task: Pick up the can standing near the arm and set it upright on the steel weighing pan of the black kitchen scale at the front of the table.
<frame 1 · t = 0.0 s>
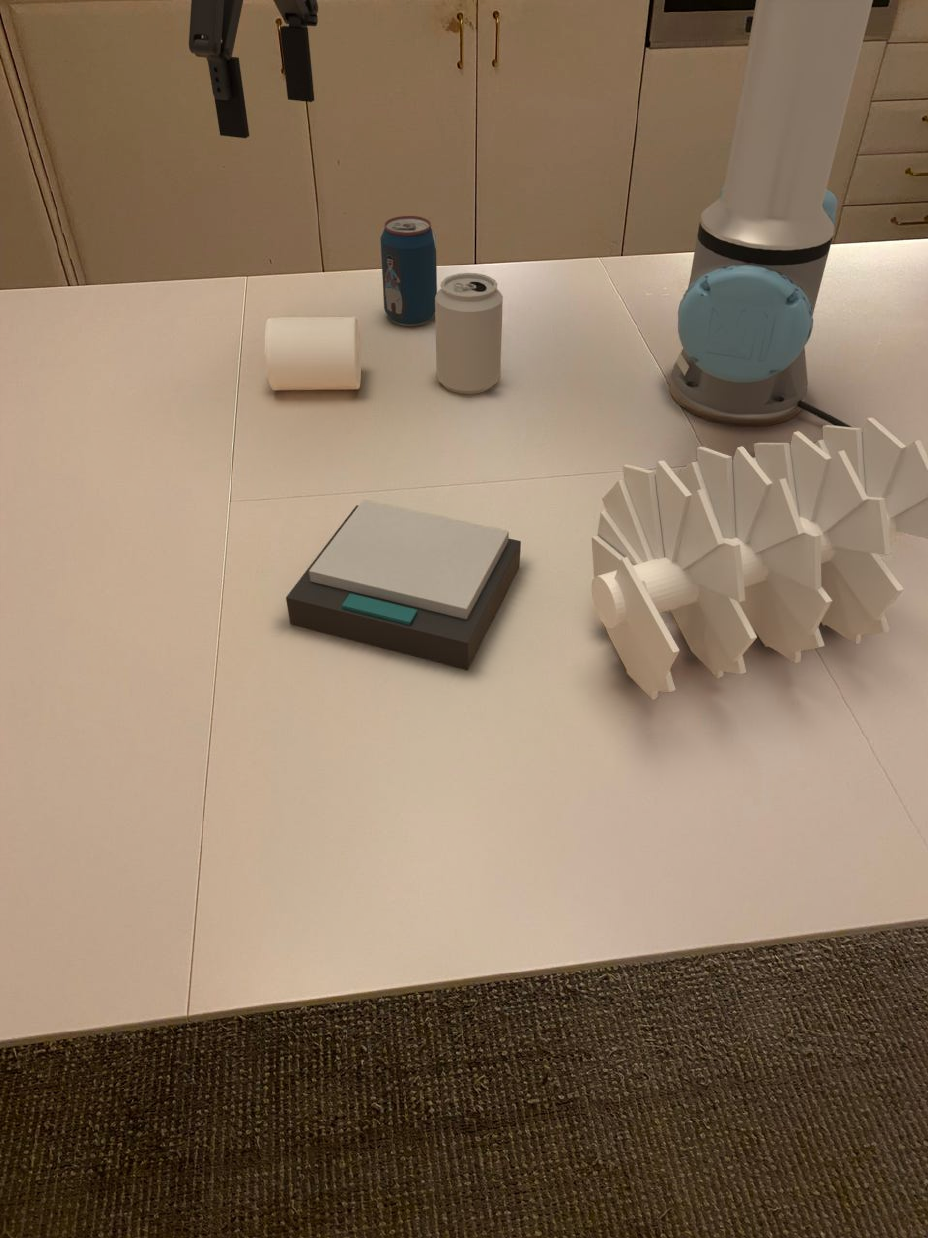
hand: (269, 117, 94), 28 cm above the table, tool pointing down, fingers open, 13 cm apart
white coffee cup: (319, 378, 113), on the table
soda can: (411, 318, 125), on the table
spiral staircase: (725, 639, 80), on the table
scale: (408, 594, 83), on the table
can: (468, 383, 112), on the table
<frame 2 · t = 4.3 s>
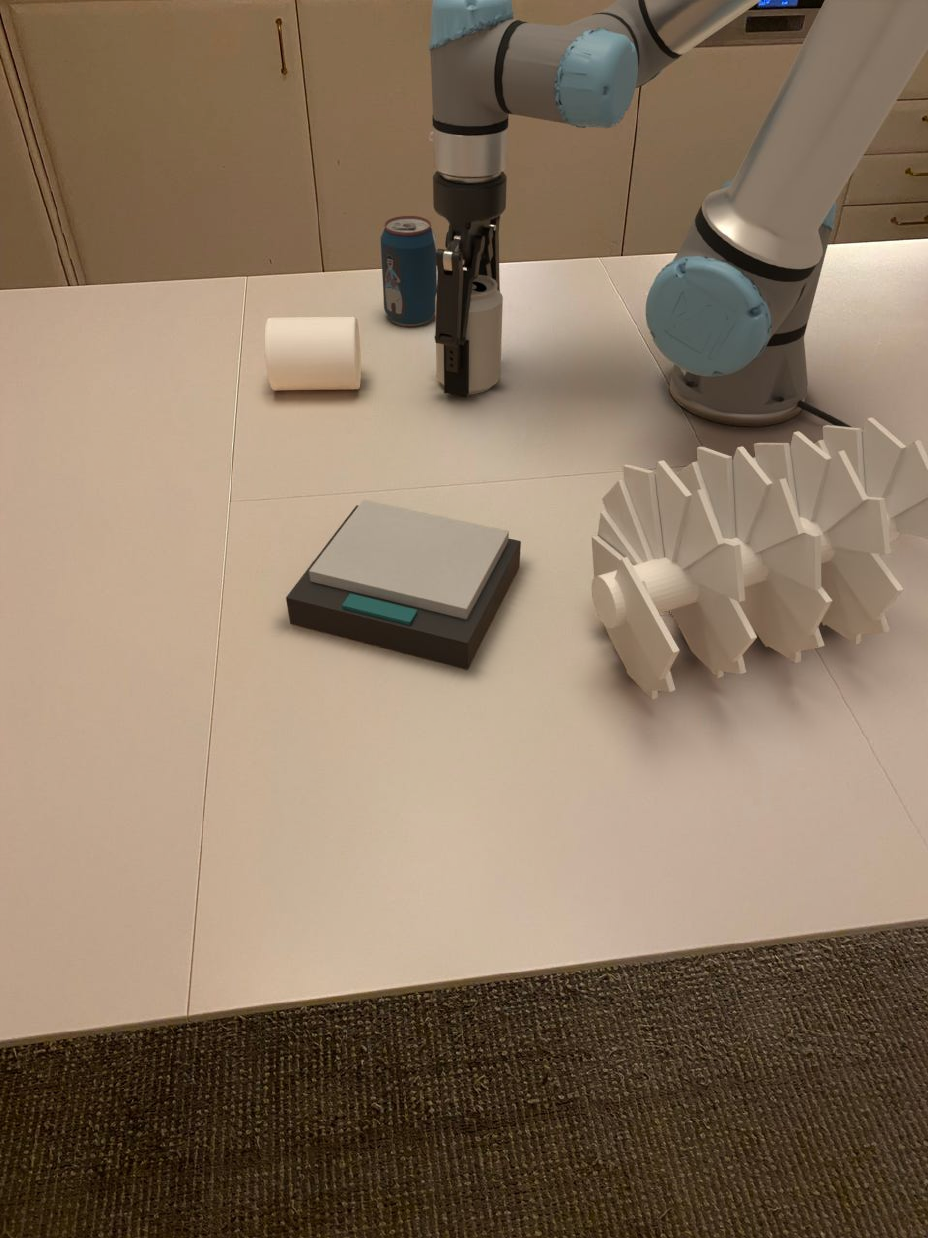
hand: (468, 376, 112), 1 cm above the table, tool pointing down, fingers closed on can, 7 cm apart
can: (468, 383, 112), on the table, touching gripper
everything else where it was.
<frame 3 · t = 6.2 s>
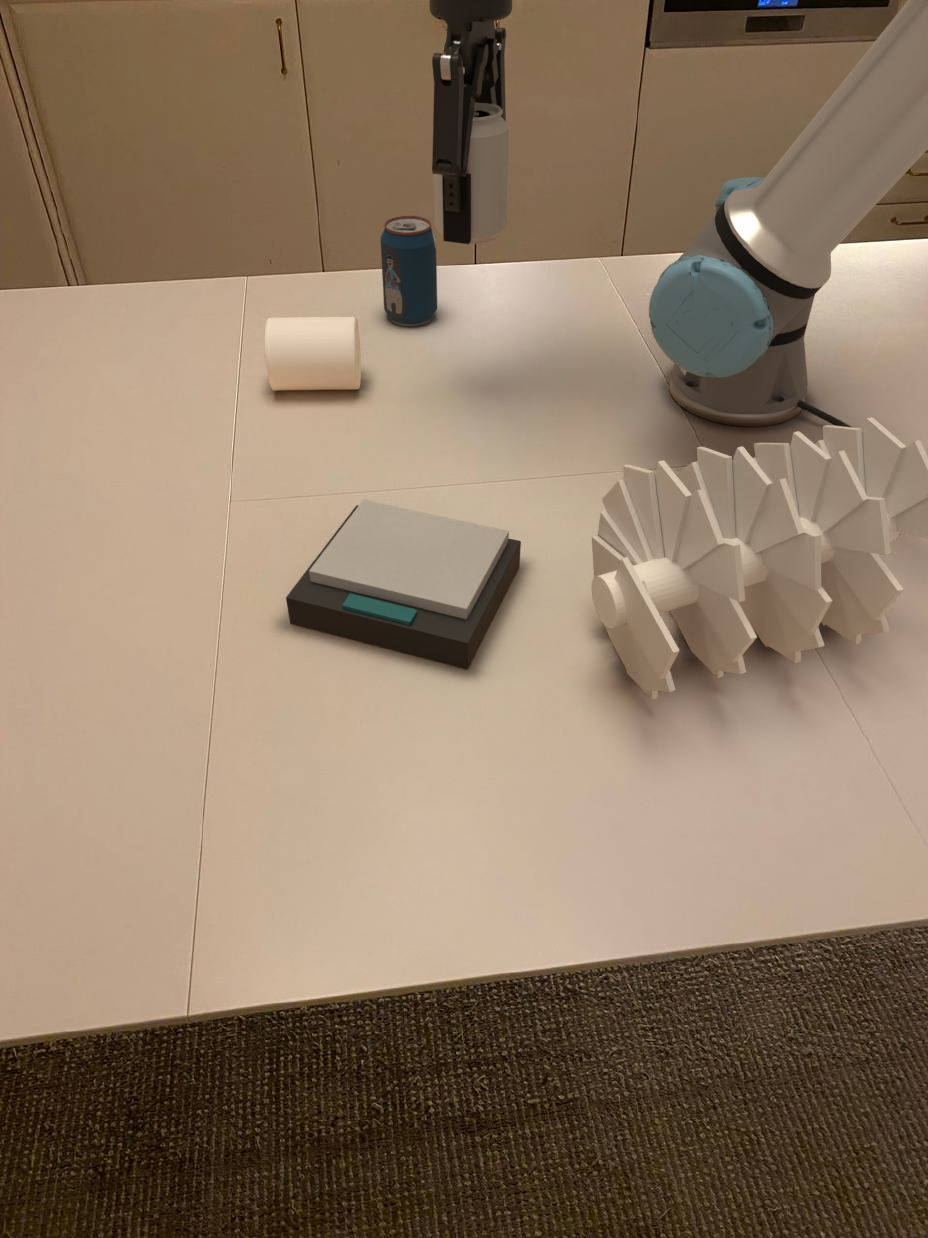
hand: (471, 227, 99), 18 cm above the table, tool pointing down, fingers closed on can, 7 cm apart
can: (470, 235, 100), point 17 cm above the table, touching gripper
everything else where it was.
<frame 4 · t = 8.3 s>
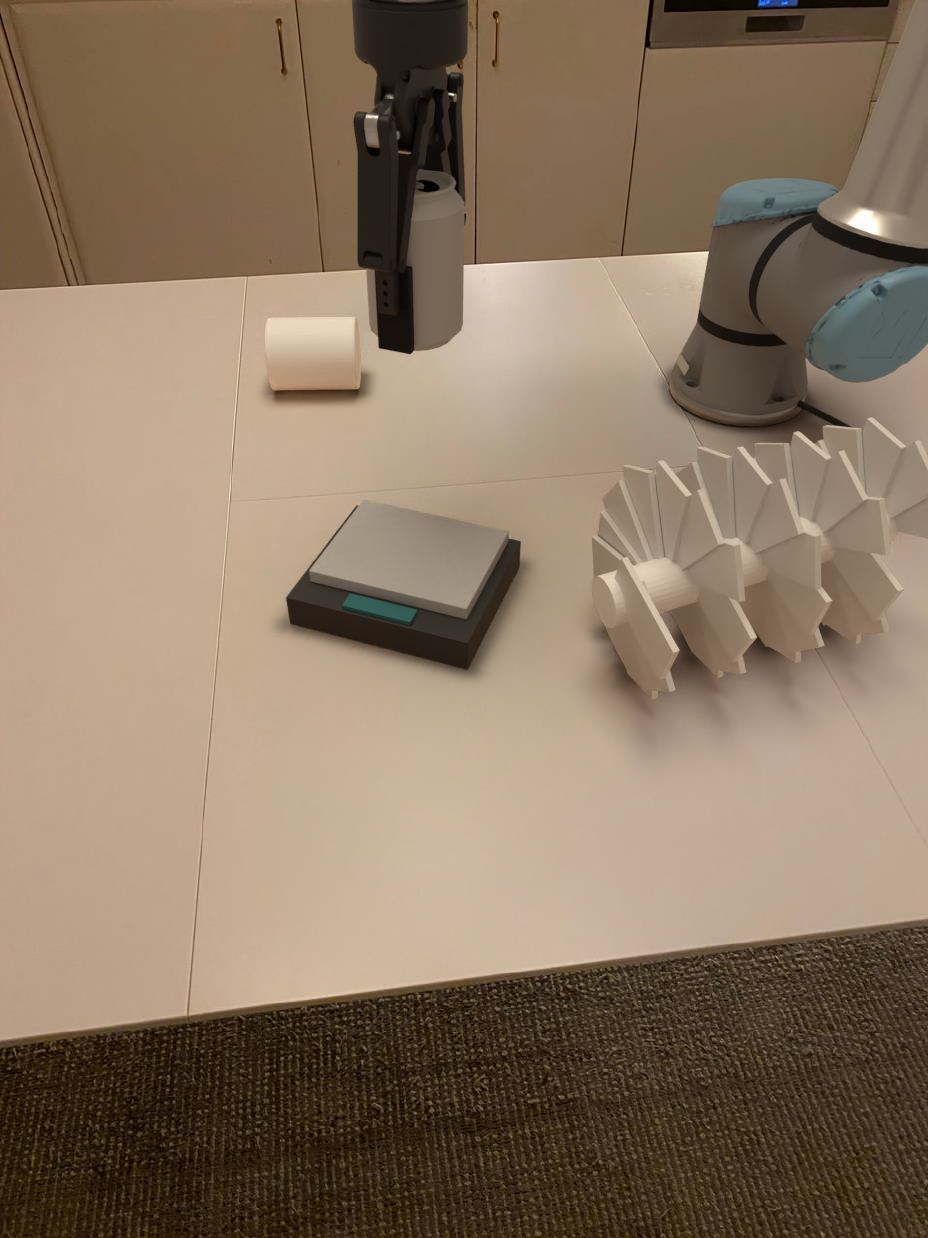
hand: (417, 327, 76), 21 cm above the table, tool pointing down, fingers closed on can, 7 cm apart
can: (416, 336, 77), point 20 cm above the table, touching gripper
everything else where it was.
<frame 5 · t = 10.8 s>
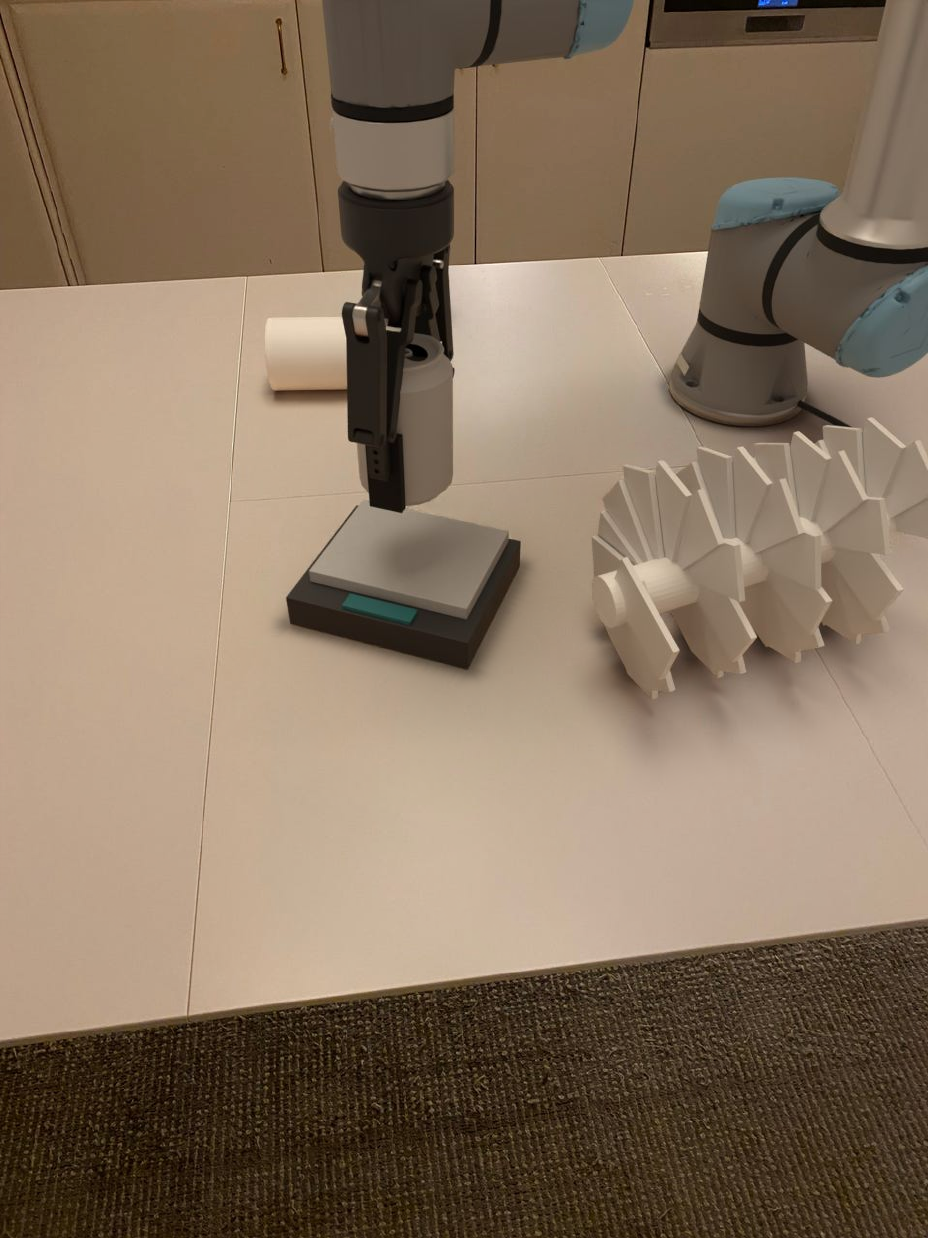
hand: (407, 478, 76), 11 cm above the table, tool pointing down, fingers closed on can, 7 cm apart
can: (406, 487, 77), point 11 cm above the table, touching gripper
everything else where it was.
when the fingers open (5 cm above the table, at t = 12.8 s): can stays where it is, resting on scale.
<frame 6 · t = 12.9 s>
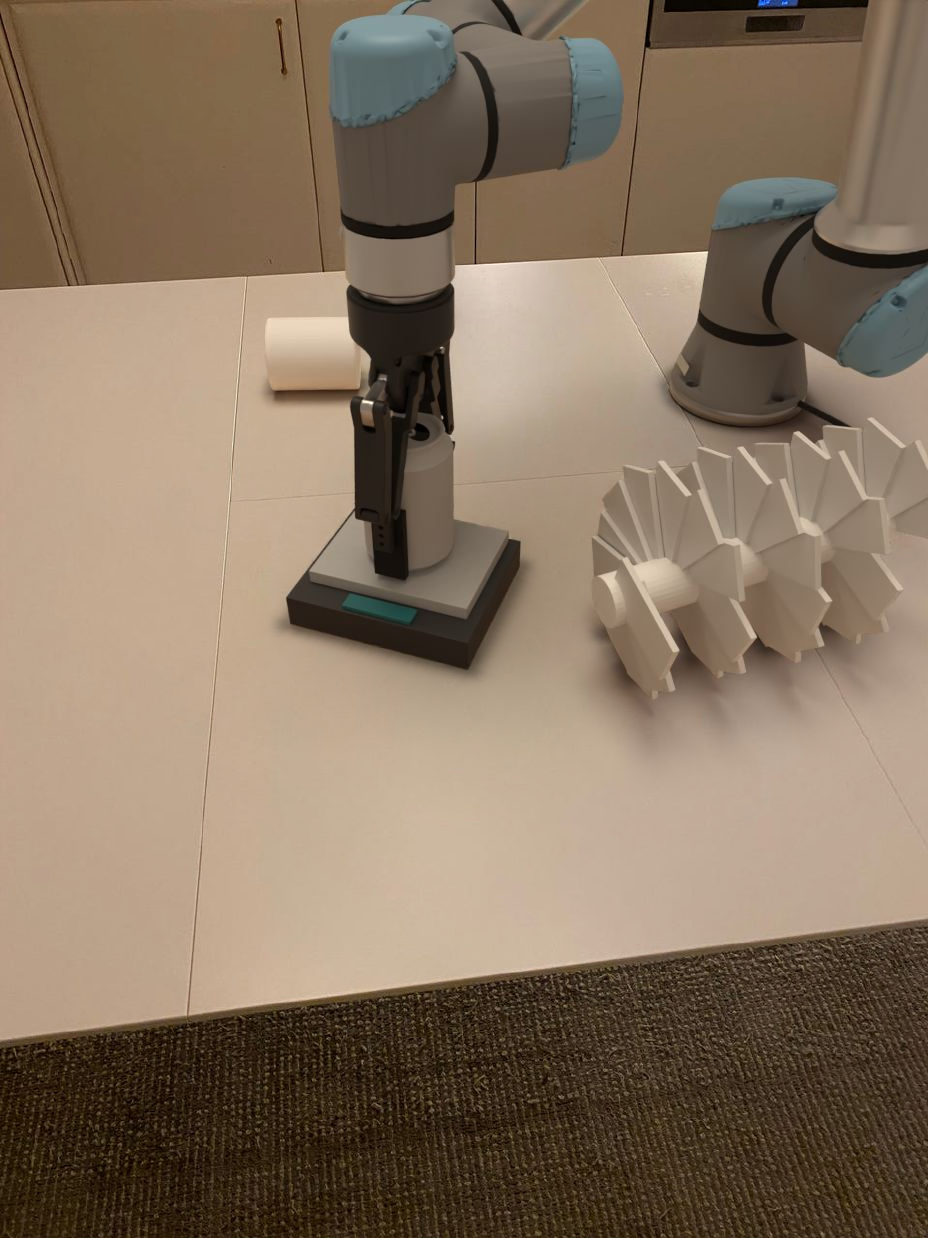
hand: (410, 545, 81), 5 cm above the table, tool pointing down, fingers open, 8 cm apart
can: (410, 551, 81), point 4 cm above the table, touching scale
everything else where it was.
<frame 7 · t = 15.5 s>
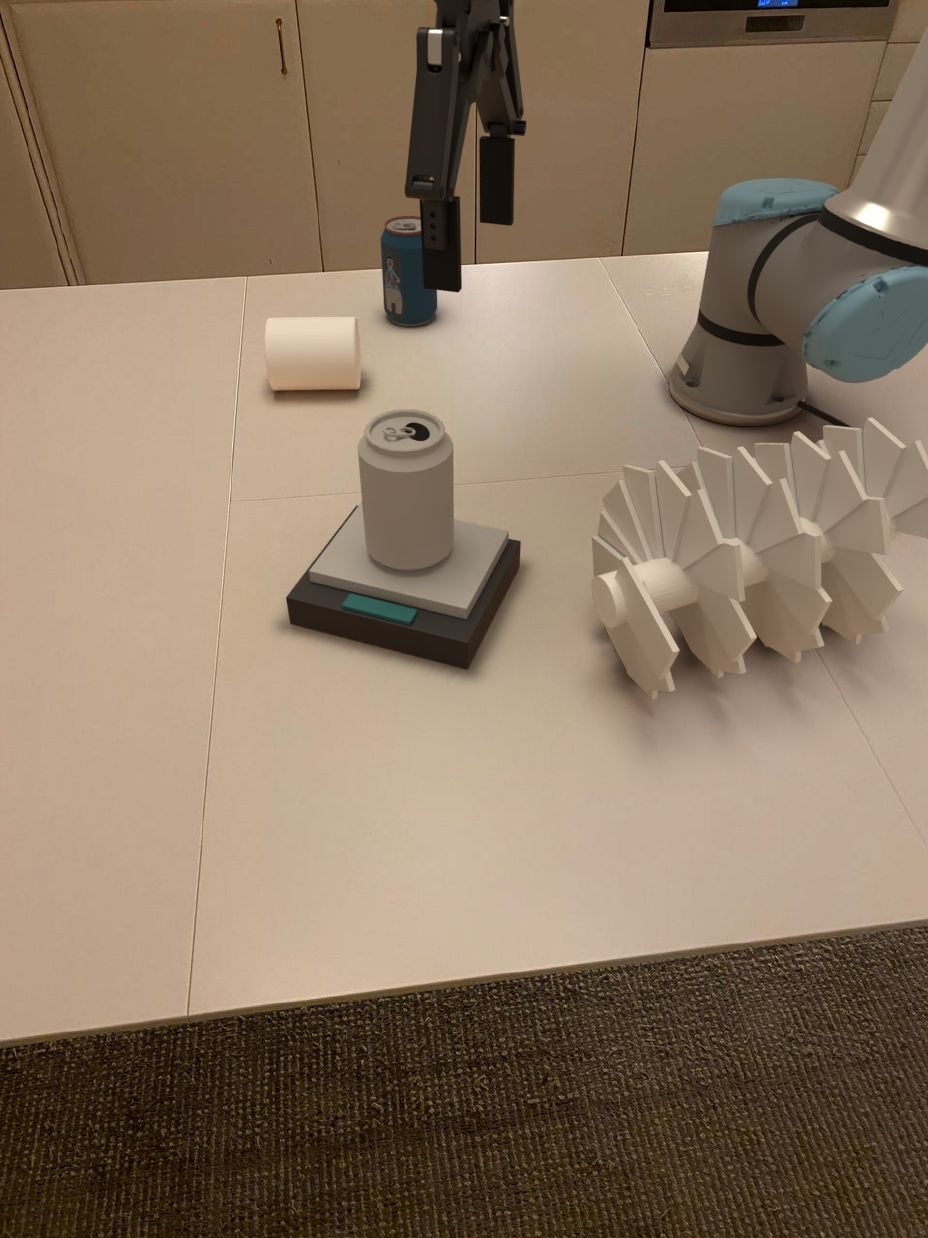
hand: (471, 253, 75), 26 cm above the table, tool pointing down, fingers open, 13 cm apart
nothing on the table moved.
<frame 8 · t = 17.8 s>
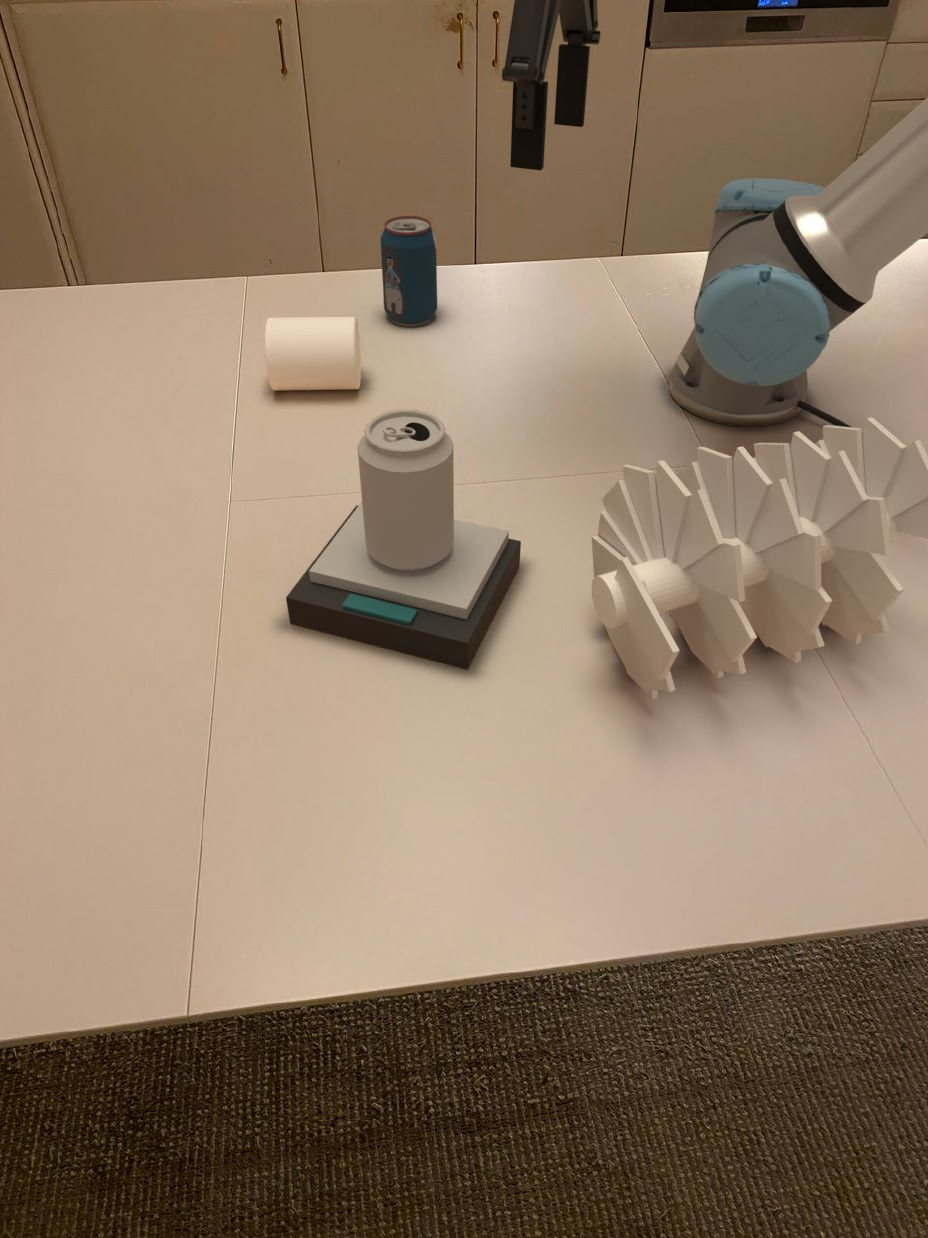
hand: (549, 145, 85), 29 cm above the table, tool pointing down, fingers open, 13 cm apart
nothing on the table moved.
at the end: can inside the target area on the scale (0.1 cm from its centre), point 4.0 cm above the scale's base; can tilted 0°; the gripper is holding nothing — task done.
